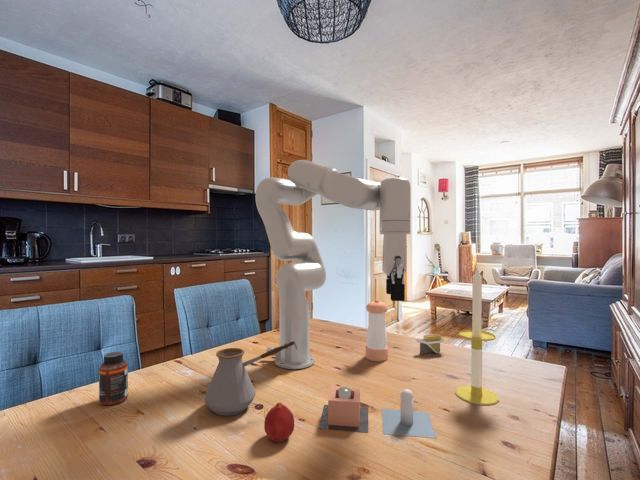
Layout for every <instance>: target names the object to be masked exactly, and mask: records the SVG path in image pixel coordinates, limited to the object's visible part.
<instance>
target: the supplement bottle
mask: <svg viewBox="0 0 640 480" xmlns="http://www.w3.org/2000/svg"><path fill="white" fill-rule="evenodd" d="M128 367H129V365H128V361H127V360H125V359H124V352H123V351H113V352H112V351H111V352H109V353H106V354H104V355H103V363H102V364H100V366H99V367H98V386H99V387H98V390H99V391H98V397H99V398H98V400H99V404H100V405H102V406H114V405H117V404H120V403H122V402H124V401H125V400H127V398H128V397H129V383H128V382H129V381H128V378H129V377H128V376H129V375H128V374H129V373H128V372H129V370H128Z"/></svg>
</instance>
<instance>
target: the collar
mask: <svg viewBox="0 0 640 480" xmlns="http://www.w3.org/2000/svg"><path fill="white" fill-rule="evenodd" d="M339 388H341V387H339V386H338V387H337V386H331V387H330V390H329V396H328V400H327V405H328V425H340V426H353V427H359V424H360V407H361V388H356V387H355V388H354V387H352V388H351V387H349V388H350V389H351V399H341V398H339Z"/></svg>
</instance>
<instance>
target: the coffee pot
mask: <svg viewBox="0 0 640 480" xmlns="http://www.w3.org/2000/svg"><path fill="white" fill-rule="evenodd" d="M292 345H295V348H296V349H297V346H296V343H295V341H293V342H290V343H288V344H284V346H280V347H279V346H276V347H273V348H274V349H272V350H270V351H268V352H267V351H266V352H264V353H262V354H260V355H258V356H256V357H253V358H251V359H249V360H245V361H244V362H243V360H242V359H243V357H244V354H245V350H244V349H242V348H239V347H229V348H228V347H227V348H224V349H220V350H218V351H217V352H216V353H215V356H216V357H217V359H218V364H217V367H216V368H215V370H214V373H213V376H212V379H211V380H210V383H209V385H208V387H207V390H206V392H205V394H204V402H205V405H206V406H207V407H208V408H209V409H210V410H211V411H213V413H215V414H217V415H219V416H225V417H226V416H227V417H228V416H233V415H237V414H241V413H242V412H243V411H245V410H246V409H247V408H248V407H249V406H250V405H251V404H252V402H253V401H254V399H255V396H256V389H255V387H254V385H253V382H252V380H251V378H250V376H249V373H248V371H247V369H246V367H247V366H249V365H251V364H254V363H256V362H258V361H259V360H261V359H265V358H268V357H271V355H273V354H276V353H278V352H280V351H281V350H283V349H287V348H288V347H289V346H292Z"/></svg>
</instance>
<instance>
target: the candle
mask: <svg viewBox="0 0 640 480" xmlns="http://www.w3.org/2000/svg"><path fill="white" fill-rule="evenodd" d="M482 282H483V277H482V275H481V274H480V271H479V268H478V267H476V269H475V272H474V274H473V275H472V297H471V298H472V307H471V308H472V311H471V312H472V315H471V317H472V318H471V319H472V325H471V326H472V327H471V329H463V330H460V331H458V335H459V336H460V337H462V338H464V339H465V340H466V339H467V340H471V342H470V343H471V349H470V351H471V357H470V361H471V362H470V363H471V364H470V366H471V367H470V371H471V374H470V375H471V377H470V379H471V380H470V381H471V383H470V385H462V386H458V387H457V388H455V391H454V392H455V395H456V396H457V397H458V398H459V399H460V400H462V401H464V402H467V403H468V404H469V403H470V404H474V405H478V406H492V405H497V403H499V401H500V399H499V396H498V395H497V393H495V392H493V391H491V390H490V389H487V388H485V387H483V342H489V341H491V342H492V341H495V340H496V338H497V337H496V336H497V335H495V334H494V333H491V332H487V331H483V330H482V323H483V322H482V315H483V314H482V311H483V310H482V308H483V307H482V306H483V305H482V303H483V302H482V301H483V300H482V297H483V295H482V293H483V291H482V289H483V288H482V287H483V283H482Z"/></svg>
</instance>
